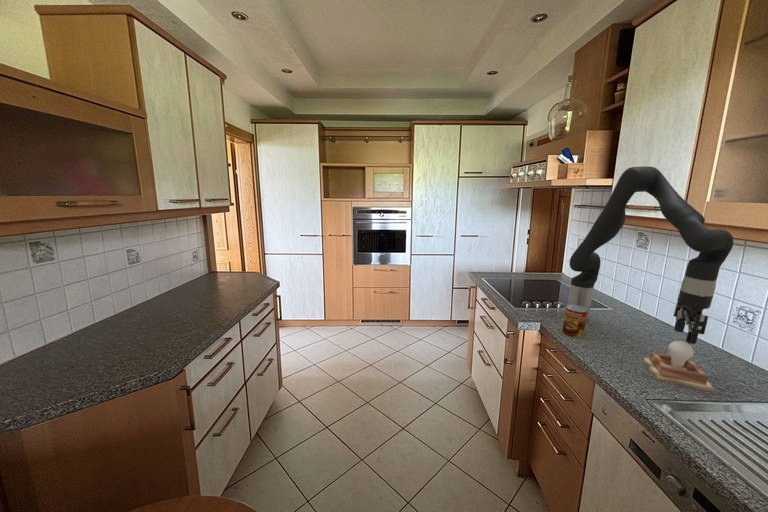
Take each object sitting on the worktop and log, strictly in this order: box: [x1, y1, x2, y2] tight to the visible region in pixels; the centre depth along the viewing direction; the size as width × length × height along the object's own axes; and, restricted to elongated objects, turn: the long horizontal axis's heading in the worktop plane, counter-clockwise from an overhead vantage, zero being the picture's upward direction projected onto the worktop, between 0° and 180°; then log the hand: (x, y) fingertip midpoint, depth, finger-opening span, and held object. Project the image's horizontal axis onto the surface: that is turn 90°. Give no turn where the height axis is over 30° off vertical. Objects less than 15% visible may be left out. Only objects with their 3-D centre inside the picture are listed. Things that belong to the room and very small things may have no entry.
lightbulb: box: [667, 340, 694, 369], centre depth 101 cm, size 6×6×11 cm
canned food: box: [561, 304, 588, 339], centre depth 130 cm, size 8×8×12 cm
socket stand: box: [642, 351, 716, 393], centre depth 102 cm, size 14×14×4 cm
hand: (684, 337), depth 100 cm, fingers open, 8 cm apart
